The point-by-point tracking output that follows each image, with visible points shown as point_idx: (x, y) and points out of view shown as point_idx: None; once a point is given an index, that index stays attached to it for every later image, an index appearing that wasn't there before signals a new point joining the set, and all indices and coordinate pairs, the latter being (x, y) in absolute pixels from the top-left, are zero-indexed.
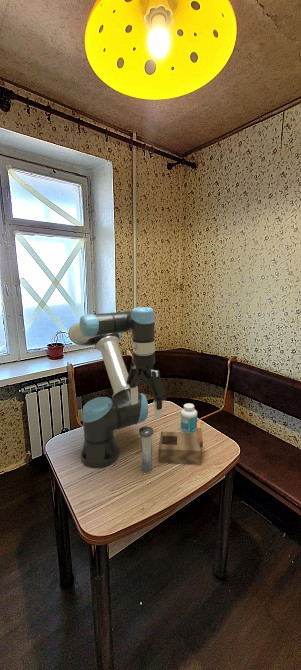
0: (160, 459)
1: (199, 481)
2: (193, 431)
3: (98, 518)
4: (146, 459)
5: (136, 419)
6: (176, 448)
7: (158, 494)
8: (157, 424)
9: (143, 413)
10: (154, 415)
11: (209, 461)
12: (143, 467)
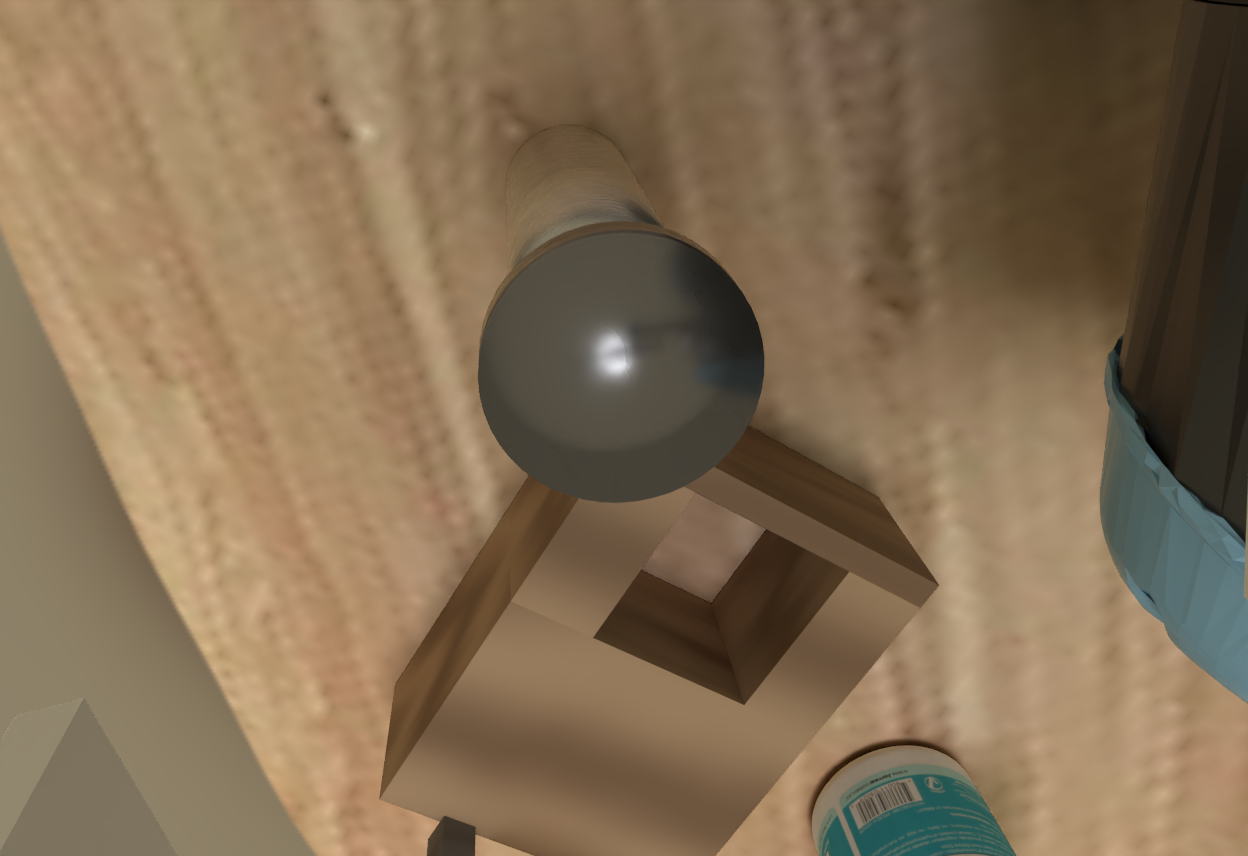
0: None
1: (187, 579)
2: (824, 854)
3: None
4: (515, 198)
5: (1135, 356)
6: (531, 606)
7: (137, 140)
8: None
9: (1154, 537)
10: (11, 780)
11: None
12: (543, 140)
